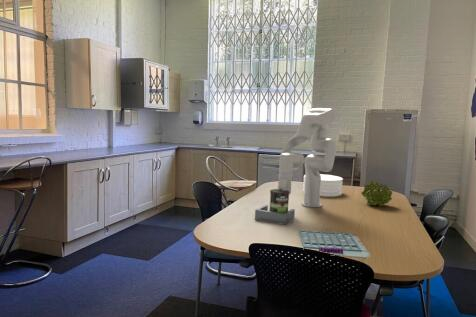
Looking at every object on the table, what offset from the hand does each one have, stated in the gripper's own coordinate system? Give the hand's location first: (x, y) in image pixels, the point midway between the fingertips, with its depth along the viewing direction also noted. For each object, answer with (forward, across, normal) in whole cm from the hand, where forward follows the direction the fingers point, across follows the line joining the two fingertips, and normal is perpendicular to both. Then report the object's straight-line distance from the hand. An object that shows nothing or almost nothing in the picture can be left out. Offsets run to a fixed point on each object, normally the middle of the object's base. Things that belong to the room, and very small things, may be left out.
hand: (283, 207), depth 204 cm
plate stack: (+4, -73, +3) cm, 74 cm away
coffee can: (+3, +8, 0) cm, 9 cm away
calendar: (+4, +36, +36) cm, 51 cm away
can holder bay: (+3, +13, 0) cm, 13 cm away
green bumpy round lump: (+4, -53, +43) cm, 68 cm away
